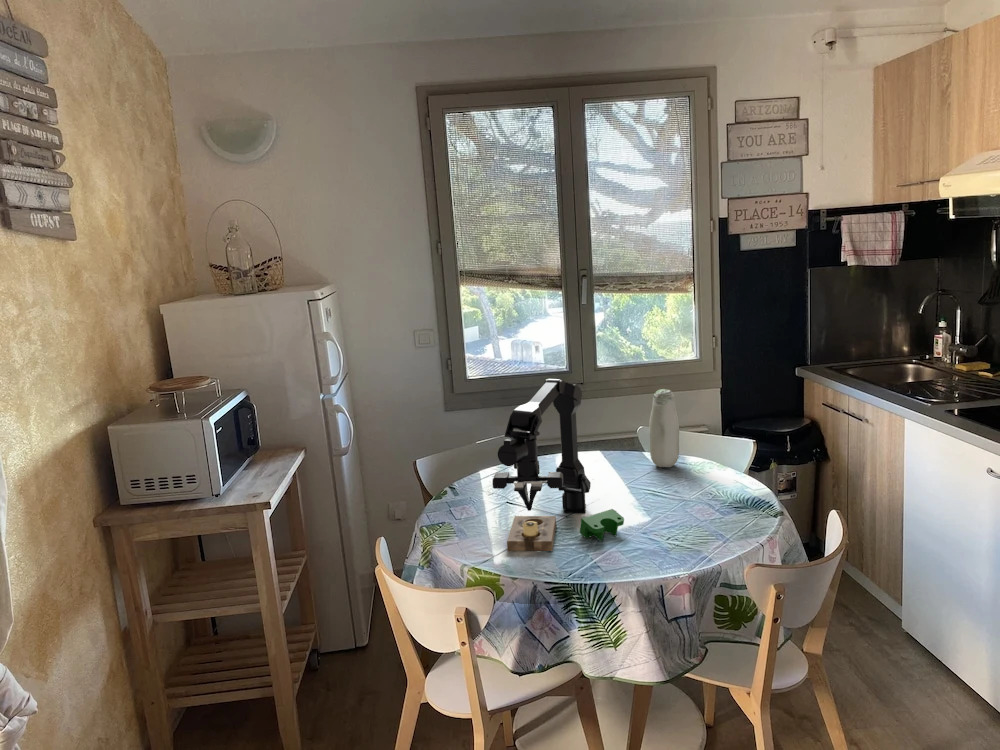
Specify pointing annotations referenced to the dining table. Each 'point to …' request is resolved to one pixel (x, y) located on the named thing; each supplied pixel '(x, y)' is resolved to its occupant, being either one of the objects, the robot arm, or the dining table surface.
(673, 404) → the white bottle
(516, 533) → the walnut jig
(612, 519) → the clamp
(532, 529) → the brass sleeve
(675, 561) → the dining table surface
